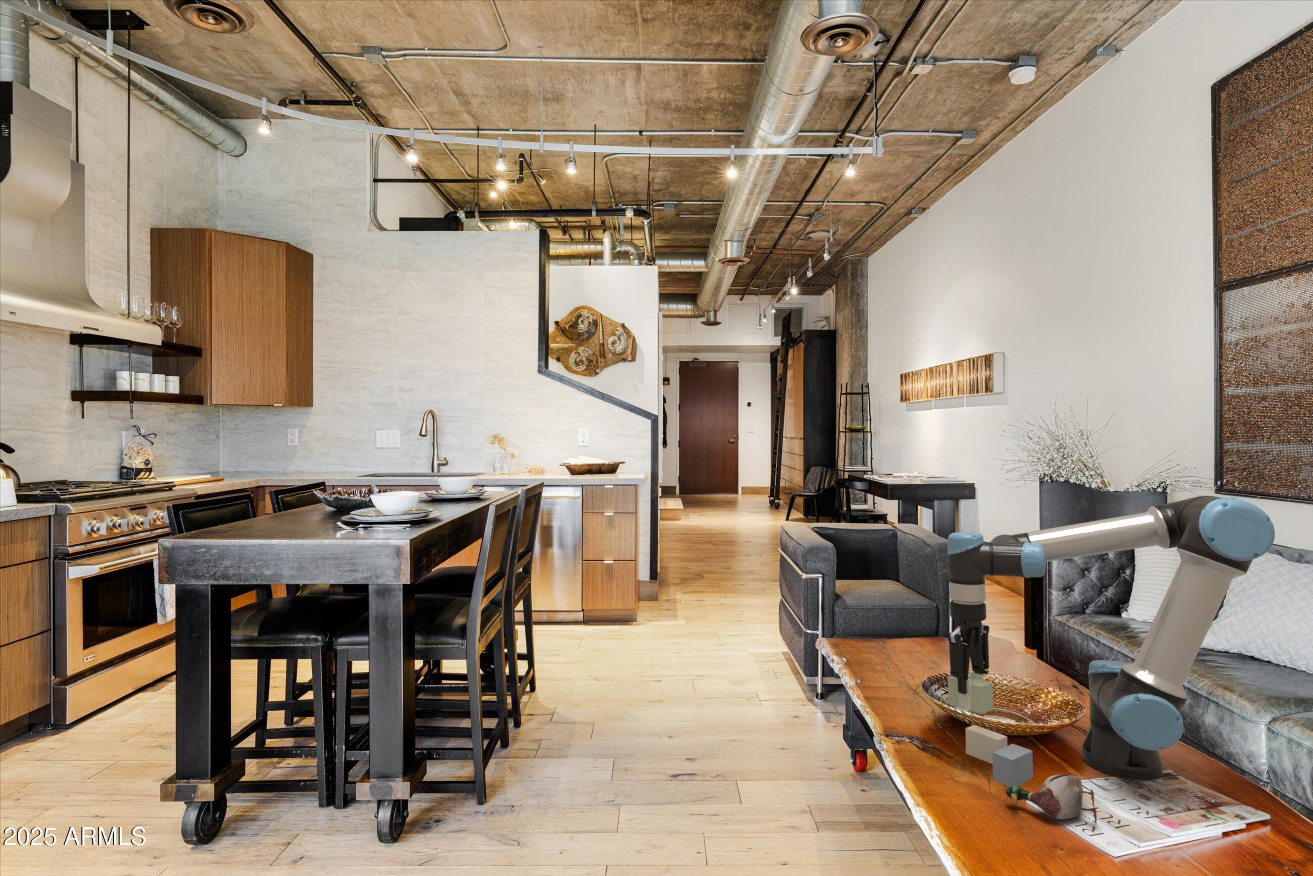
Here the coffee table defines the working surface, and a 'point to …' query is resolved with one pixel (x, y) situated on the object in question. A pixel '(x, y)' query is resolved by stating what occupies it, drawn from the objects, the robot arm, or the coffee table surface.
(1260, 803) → the coffee table surface
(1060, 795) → the decorative duck model
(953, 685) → the sage block
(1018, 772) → the slate block
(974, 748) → the cream block
